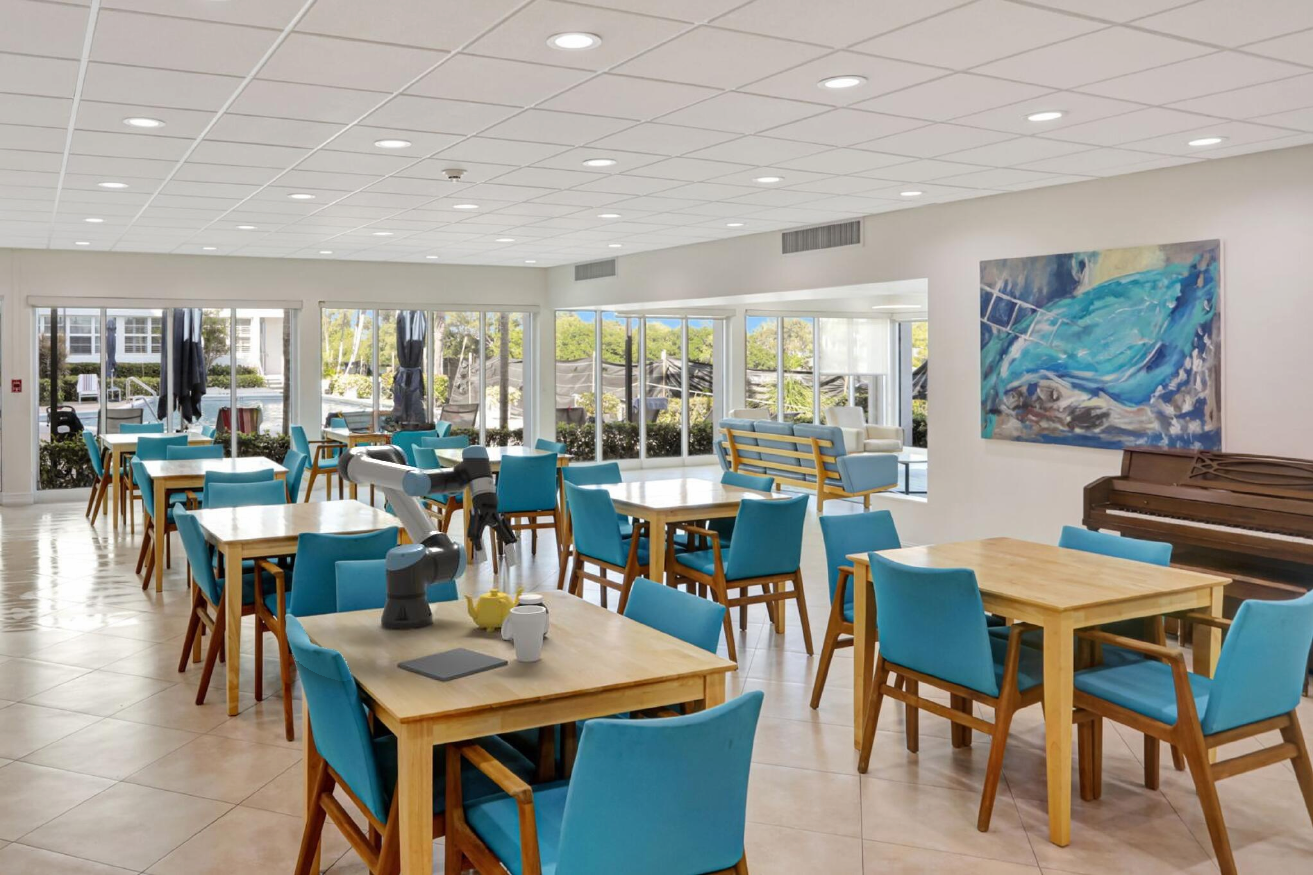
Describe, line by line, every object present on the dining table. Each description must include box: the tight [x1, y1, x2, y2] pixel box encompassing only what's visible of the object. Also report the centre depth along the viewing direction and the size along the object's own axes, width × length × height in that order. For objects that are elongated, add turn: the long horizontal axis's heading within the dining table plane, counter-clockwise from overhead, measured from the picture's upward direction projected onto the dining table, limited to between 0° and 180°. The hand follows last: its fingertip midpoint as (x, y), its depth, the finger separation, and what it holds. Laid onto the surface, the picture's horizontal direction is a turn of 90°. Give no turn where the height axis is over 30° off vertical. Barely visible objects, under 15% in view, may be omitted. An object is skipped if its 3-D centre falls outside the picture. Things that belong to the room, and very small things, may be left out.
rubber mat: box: [397, 647, 509, 682], centre depth 264 cm, size 20×20×1 cm
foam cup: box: [510, 606, 546, 663], centre depth 270 cm, size 10×9×13 cm
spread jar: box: [500, 593, 550, 641], centre depth 291 cm, size 12×11×12 cm
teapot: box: [462, 586, 526, 633], centre depth 302 cm, size 20×15×12 cm
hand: (498, 563), depth 295 cm, fingers open, 13 cm apart
